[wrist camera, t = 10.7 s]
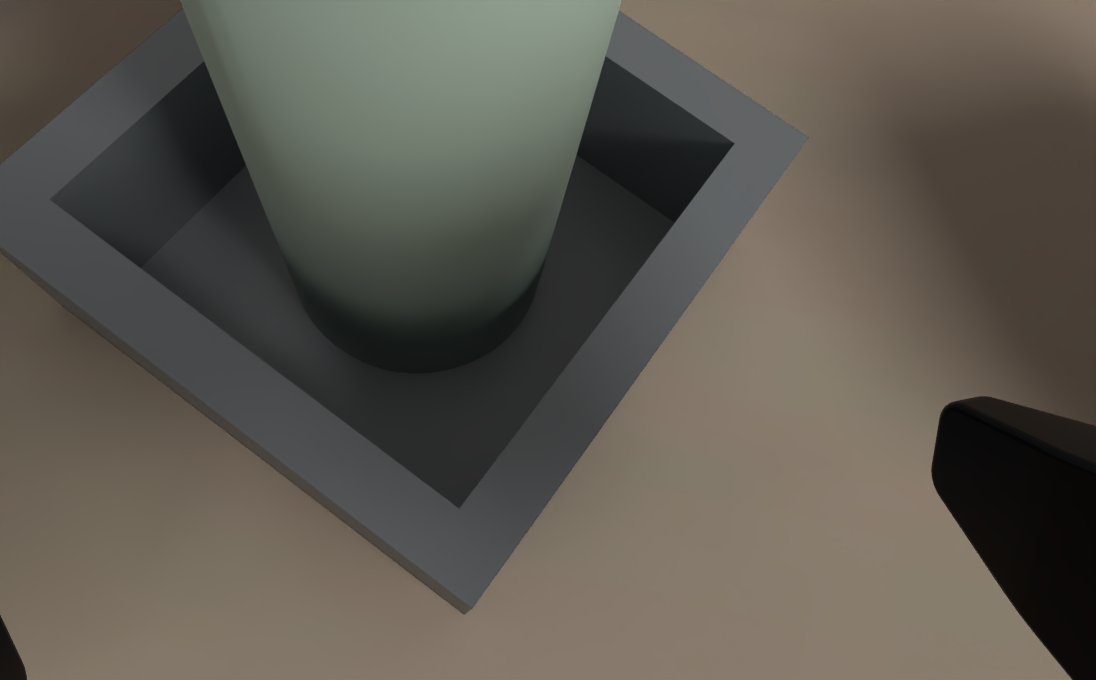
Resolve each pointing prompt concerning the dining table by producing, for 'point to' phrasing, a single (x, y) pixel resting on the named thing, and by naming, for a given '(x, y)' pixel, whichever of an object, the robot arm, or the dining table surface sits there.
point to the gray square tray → (343, 381)
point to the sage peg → (409, 155)
